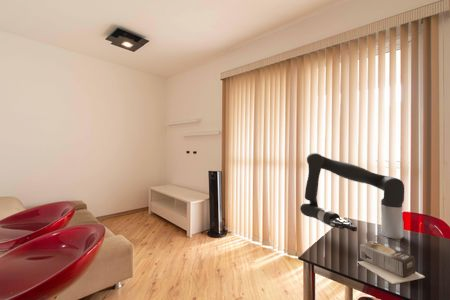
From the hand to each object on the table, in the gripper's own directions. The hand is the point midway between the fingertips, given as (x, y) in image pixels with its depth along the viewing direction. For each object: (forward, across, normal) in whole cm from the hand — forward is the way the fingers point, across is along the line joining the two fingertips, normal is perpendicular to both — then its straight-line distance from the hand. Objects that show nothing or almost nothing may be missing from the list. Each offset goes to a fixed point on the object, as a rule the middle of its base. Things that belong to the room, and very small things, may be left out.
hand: (355, 229), depth 96 cm
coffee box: (+4, 0, +7) cm, 9 cm away
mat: (+15, +1, +11) cm, 18 cm away
